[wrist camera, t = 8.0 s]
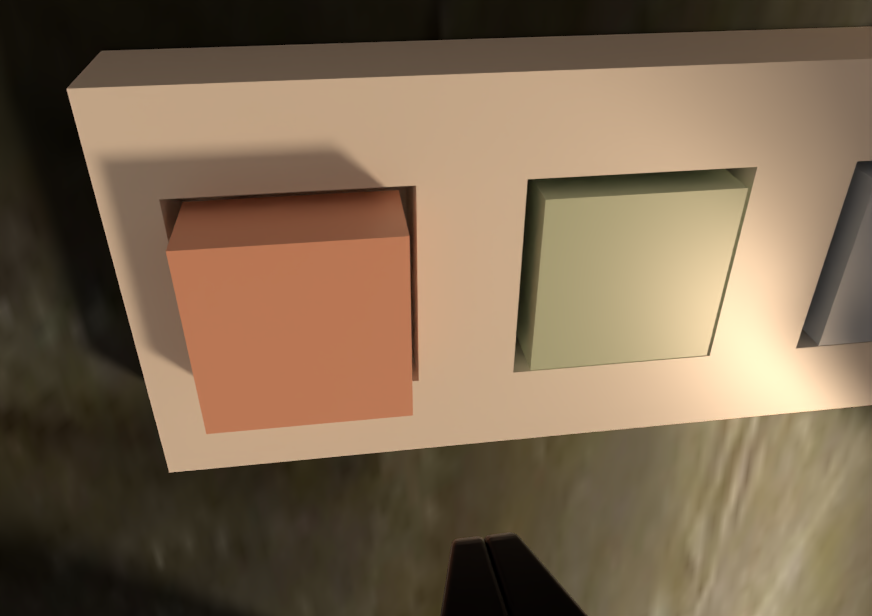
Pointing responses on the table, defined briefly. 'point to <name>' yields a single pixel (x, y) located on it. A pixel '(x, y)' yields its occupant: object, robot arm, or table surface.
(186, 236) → the terracotta button
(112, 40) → the table surface
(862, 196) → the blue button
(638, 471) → the table surface
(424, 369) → the button panel
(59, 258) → the table surface
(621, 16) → the table surface
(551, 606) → the robot arm
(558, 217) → the green button
